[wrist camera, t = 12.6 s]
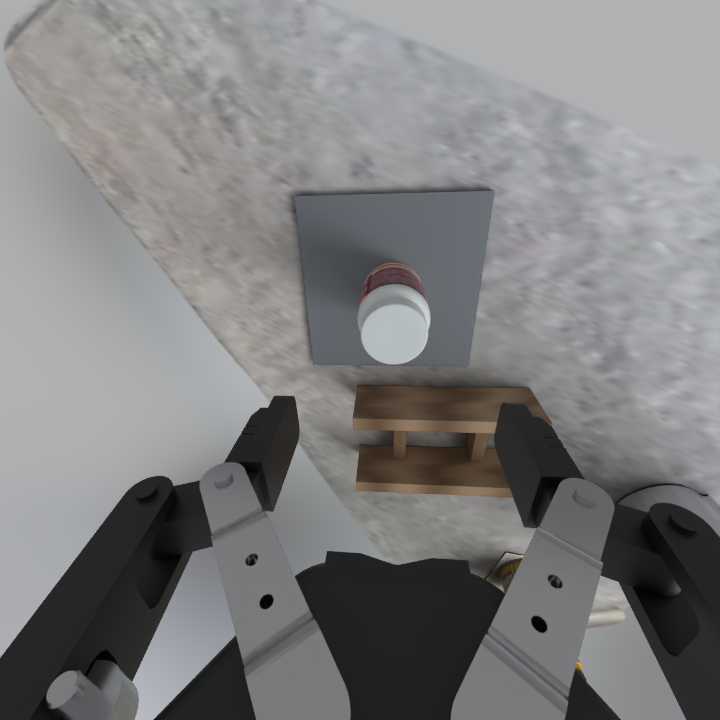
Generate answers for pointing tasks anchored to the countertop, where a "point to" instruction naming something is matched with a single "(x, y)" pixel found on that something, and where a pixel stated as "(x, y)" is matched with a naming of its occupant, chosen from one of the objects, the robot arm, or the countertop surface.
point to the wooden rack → (434, 414)
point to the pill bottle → (393, 314)
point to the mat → (393, 245)
